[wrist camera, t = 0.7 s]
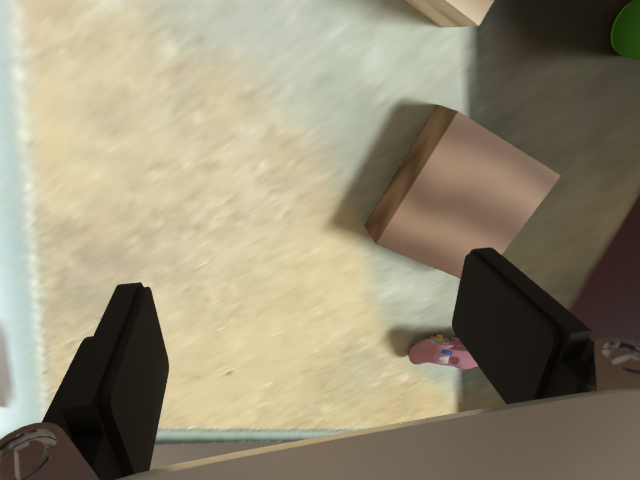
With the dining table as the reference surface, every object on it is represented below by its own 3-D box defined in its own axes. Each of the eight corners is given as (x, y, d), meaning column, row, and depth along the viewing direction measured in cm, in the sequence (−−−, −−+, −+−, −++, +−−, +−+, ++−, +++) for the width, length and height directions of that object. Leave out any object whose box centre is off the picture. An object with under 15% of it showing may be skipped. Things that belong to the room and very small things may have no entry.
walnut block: (437, 104, 38) (458, 111, 34) (534, 164, 43) (560, 175, 39) (364, 226, 42) (376, 243, 39) (459, 267, 47) (477, 285, 44)
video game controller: (470, 330, 55) (507, 343, 48) (467, 362, 55) (503, 380, 48) (407, 326, 52) (436, 339, 45) (404, 360, 52) (432, 379, 45)
